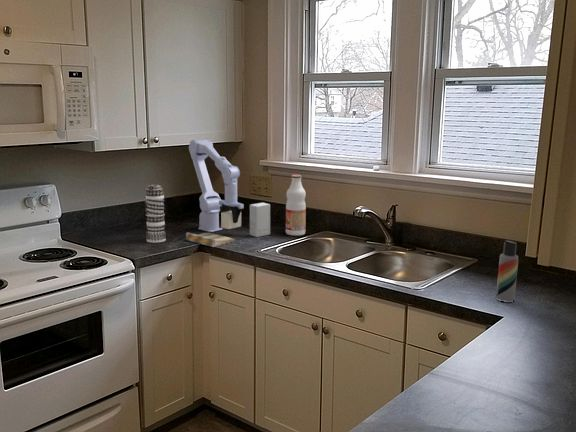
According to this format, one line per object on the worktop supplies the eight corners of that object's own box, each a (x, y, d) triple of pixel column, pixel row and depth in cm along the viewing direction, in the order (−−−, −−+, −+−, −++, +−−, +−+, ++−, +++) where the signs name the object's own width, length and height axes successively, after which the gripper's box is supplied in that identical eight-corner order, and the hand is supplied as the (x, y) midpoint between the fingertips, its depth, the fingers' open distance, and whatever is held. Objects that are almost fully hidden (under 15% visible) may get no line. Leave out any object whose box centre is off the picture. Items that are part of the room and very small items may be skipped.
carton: (220, 227, 272) (220, 212, 271) (233, 224, 278) (233, 210, 276) (228, 229, 269) (228, 214, 267) (241, 226, 275) (241, 211, 273)
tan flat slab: (185, 239, 264) (185, 233, 263) (208, 234, 274) (208, 228, 273) (212, 247, 252) (212, 239, 252) (235, 241, 262) (235, 234, 262)
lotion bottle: (492, 297, 194) (498, 238, 190) (509, 297, 195) (515, 238, 191) (500, 303, 189) (506, 243, 185) (517, 303, 189) (523, 243, 185)
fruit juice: (300, 236, 273) (301, 177, 268) (282, 234, 277) (282, 175, 272) (308, 232, 282) (309, 174, 276) (291, 230, 286) (291, 173, 280)
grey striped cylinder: (170, 240, 262) (169, 185, 257) (151, 243, 257) (149, 187, 251) (161, 236, 269) (159, 182, 264) (142, 239, 263) (140, 184, 258)
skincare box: (263, 232, 280) (263, 202, 277) (270, 235, 276) (271, 203, 273) (248, 235, 275) (248, 203, 272) (256, 237, 271) (256, 205, 268)
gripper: (213, 192, 272) (214, 220, 274) (235, 196, 262) (235, 225, 265) (225, 190, 277) (225, 218, 280) (246, 194, 268) (246, 223, 270)
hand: (231, 221), depth 273 cm, fingers closed on carton, 5 cm apart
